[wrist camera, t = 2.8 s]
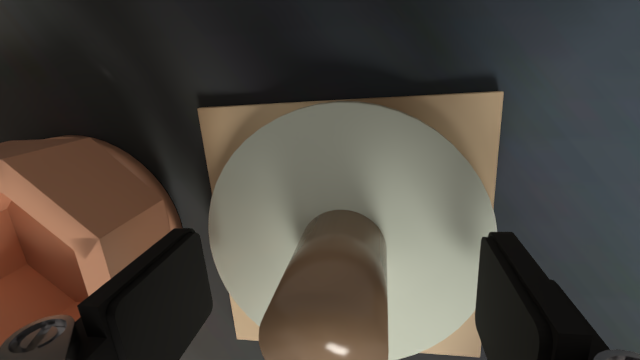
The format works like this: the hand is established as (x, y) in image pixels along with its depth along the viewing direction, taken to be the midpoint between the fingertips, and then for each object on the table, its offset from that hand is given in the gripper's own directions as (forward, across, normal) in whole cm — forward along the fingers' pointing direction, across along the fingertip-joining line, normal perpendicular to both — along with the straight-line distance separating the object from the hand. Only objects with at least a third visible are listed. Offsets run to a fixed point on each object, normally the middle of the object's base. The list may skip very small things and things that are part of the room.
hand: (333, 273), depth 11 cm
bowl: (+3, +11, 0) cm, 11 cm away
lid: (+2, 0, 0) cm, 2 cm away
